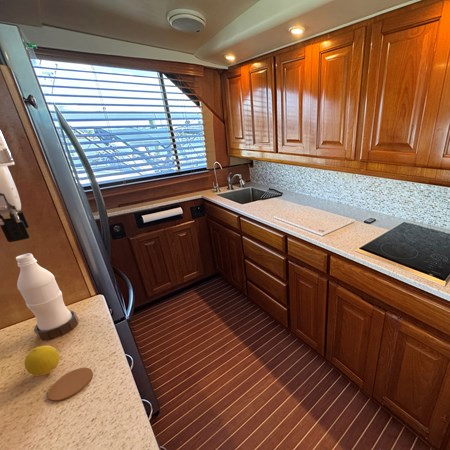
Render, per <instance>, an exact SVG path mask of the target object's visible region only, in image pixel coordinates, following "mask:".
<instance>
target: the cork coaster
mask: <svg viewBox="0 0 450 450" xmlns="http://www.w3.org/2000/svg"><path fill="white" fill-rule="evenodd" d="M93 375H94V372H93V370H92V369H91V368H90V367H79V368H76V369H73V370H70V371H69V372H67V373H66V374H64V375H62V376H61V377H59V378H58V379H57V380H56V381H55V382H54V383H53V384H52V385H51V387H49V390H48V391H47V397H48V399H49V401H51V402H54V403H55V402H62V401H66V400H67V399H68V400H69V399H70V398H72V397H74V396H76V395H77V394H79V393H80V392H81V391H82V390H84V389H85V388H86V387H87V386H88V385H89V384H90V382H91V381H92V379H93V377H94V376H93Z"/></svg>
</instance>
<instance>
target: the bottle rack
mask: <svg viewBox="0 0 450 450" xmlns="http://www.w3.org/2000/svg"><path fill="white" fill-rule="evenodd" d="M69 311H70V312H71V314H72V318H71V319H70V320H69V321H68V322H66V323H65V324H63V325H61V326H59V327H57V328H54V329H51V330H48V331H40V329H39V328H38V326H37V324H36V325H35V327H34V329H33V331H34V333H35V334H36V337H37V338H38V340H40V341H51V340H54V339H57V338H61V337H62V336H65V335H67V334H68V333H70V332H71V331H73V330H74V329H75V328H76V327H77V326H78V325H79V321H80V319H79V317H78V315H77V313H76V312H75V311H74V310H69Z"/></svg>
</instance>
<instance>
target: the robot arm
mask: <svg viewBox="0 0 450 450" xmlns="http://www.w3.org/2000/svg"><path fill="white" fill-rule="evenodd" d="M14 165H15V160H14V159H13V157H12V154H11V151H10V149H9V147H8V145H7V142H6V140H5V138H4V135H3V133H2V131H1V129H0V228H1V231H2V232H3V235H4V237H5V239H6V240H7V242H8V243H13V242H19V241H24V240H28V239H30V234H29V232H28V230H27V229H29V227H30V226H29V223H28V221H27V219H26V216H25V214H24V212H23V211H22V203H21V198H20V195H19V191H18V189H17V186H16V184H15V181H14V179H13V175H12V174H11V172H10V170H9V166H14Z"/></svg>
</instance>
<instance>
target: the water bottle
mask: <svg viewBox="0 0 450 450" xmlns="http://www.w3.org/2000/svg"><path fill="white" fill-rule="evenodd" d="M15 260H16V262H17V267H18V268H19V275H18V278H17V282H16V286H17V290H18V291H19V293H20V294H21V296H22V298H23V300H24V301H25V305H26V307H27V308H28V309H29V310H30V311H31V312H32V314H33V315H34V317H35V319H36V325H37V326H38V328H39V329H40V331H48V330H51V329H54V328H57V327H59V326H61V325H63V324H65V323H66V322H68V321H69V320H70V319H71V318H72V314H71V312H70V311H71V310H69V309H68V307H67V306H66V304H65V302H64V298H63V292H62V290H60V287H59V285H58V283H57V281H56V279H55V278H56V277H55V275H54V274H53V273H52V272H51V271H49V270H47V269H46V268H44V267H42V266H41V265H39V264H38V263H37V262H38V260H37V259H36V258H35V257H34V255H33V253H29V252H27V253H24V254H23V253H22V254H19V255H17V256H16V257H15Z"/></svg>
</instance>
